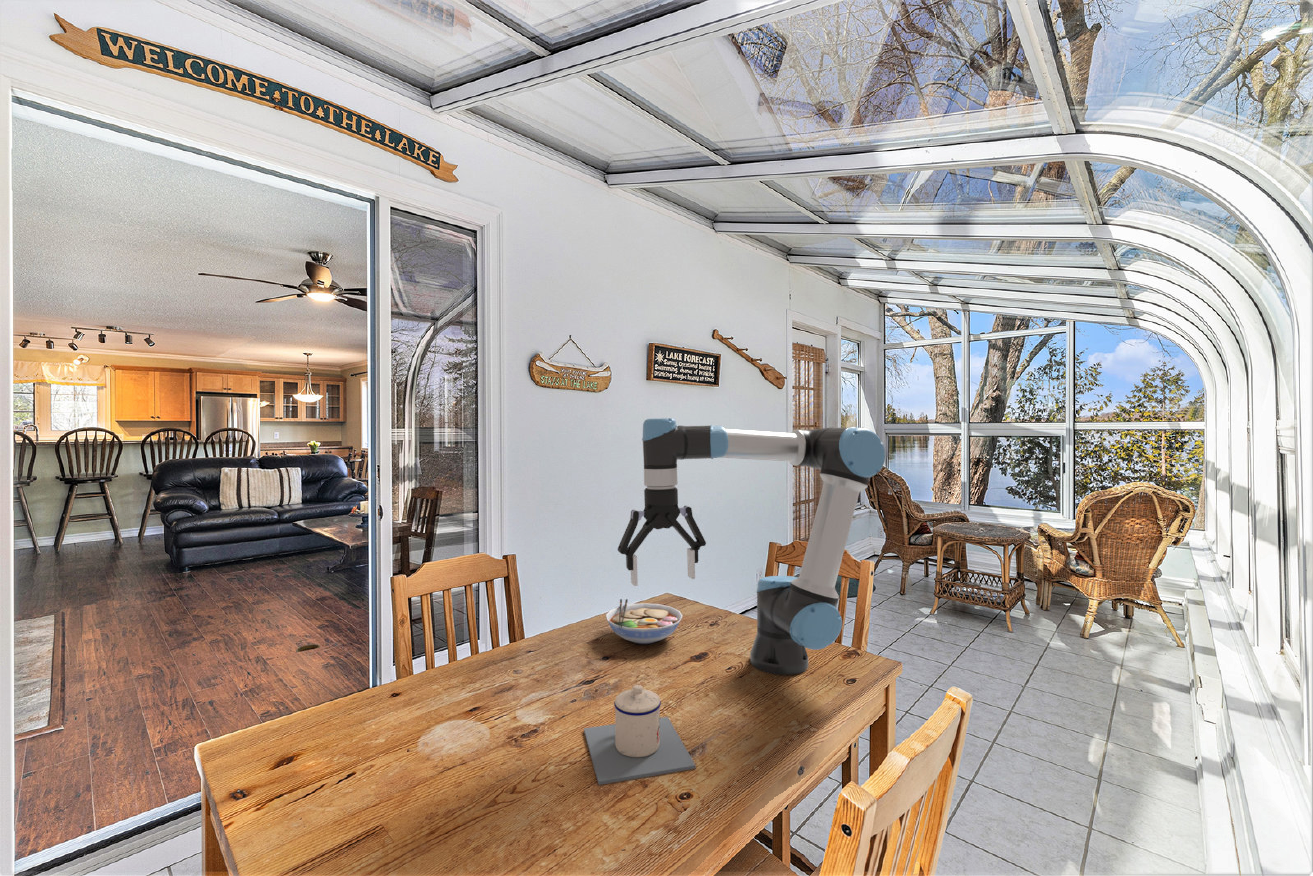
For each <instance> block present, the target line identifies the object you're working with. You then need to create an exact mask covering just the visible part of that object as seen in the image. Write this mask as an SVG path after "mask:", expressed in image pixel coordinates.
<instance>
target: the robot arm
mask: <svg viewBox="0 0 1313 876" xmlns="http://www.w3.org/2000/svg"><path fill="white" fill-rule="evenodd" d="M641 440H642V454H643V485H644V486H645V487H646V488H645V489H644V490H643V491H644V492H643V493H644V509H643V510H636V509H632V510H631V511H630V519H629V522H628V524H627V526H626V528H625V531H624V532H623V535H622V538H621V540H620V541H619V545H618V547H617V551H618V552H619V553H620V554H621V555H625V565H626V566H625V567H626V569H627V570H628V571H630V583H631V584H632V585H633V586H634V587H638V557H637V555H636V554H635V553H636V552H637V550H638V549H639V548H640V547H641V545H642V544H643V542H644V541H645V540H646V538H647V537H648V536H649V534H650V533H651V532H653V530H654V529H655V530H661V529H670V528H671V527H672V528H674V530H675V531H676V532H677V534H679V535H680V536H681V537H682V539H683V540H684V541H685V543H687V544H688V546H690V547H687V548H686V555H687V557H686V559H687V577H688V578H690V579H691V580H695V579H696V564H698V562H699V550H700V549H701V547H704V546H706V544H707V541H706V539H705V537H704V536H703V534H702V532H701V530H700V528H699V526H698V523H696V520H695V518H694V516H693V508H692V507H691V506H688V505H684V506H683V507H679V496H678V494H679V492H678V491H679V490H678V488H677V487H676V486H677V485H678V464H677V463H678V461H679V460H681V461H682V460H699V459H700V460H701V459H704V460H705V459H711V460H713V459H718V458H721V459H737V460H738V459H740V460H757V461H759V460H760V461H776V462H777V461H778V462H789V463H790V465H793V466H799V467H805V468H806V467H807V468H812V469H817V470H820V472H819V476H820V479H821V480H822V482H823V485H822V489H821V493H820V495H819V500H818V504H817V507H816V512H815V515H814V520H813V522H812V527H811V529H810V534H809V539H808V540H807V541H808V543H807V545H806V549H805V553H804V557H803V560H802V564H801V568H800V571H799V575H798V576H797V577H796V576H793V575H792V576H791V575H769V576H764V577H761V578H759V580H758V581H757V587H756V596H757V597H756V599H757V600H756V608H757V609H756V619H757V620H756V625H757V626H756V629H757V630H756V636H755V639H754V641H753V645H752V647H751V650H750V654H749V655H750V658H749V659H750V664H751V666H753V667H754V668H755V669H757V670H759V671H760V672H763V673H766V674H771V675H776V676H777V675H778V676H795V675H799V673H800V674H803V673H804V672H806V671H807V670H808V669H807V668H809V656H808V652H807V649H808V650H813V651H815V650H816V651H817V650H818V651H819V650H823V649H826V648H827V647H828V646H831V645H832V644H833V643H834V642H835V641H836V640H837V639H838V637H839V635H840V634H841V630H842V628H843V620H842V616H841V614H840V611H839V609H838V608H837V606H838V602H839V599H840V596H839V594H838V592H837V590H836V588H835V587H836V584H837V580H838V576H839V572H840V568H841V564H842V561H843V557H844V553H845V550H846V546H847V541H848V536H849V533H850V530H851V526H852V521H853V518H854V514H855V509H856V508H857V507H856V506H857V502H858V499H859V495H860V493H861V492H862V491H863V490H865V489H867V488H869V487H868V486H869V483H870V479H871V478H872V477H873V476H875V475H877V473H879V472H881V470H882V469H883V467H884V465H885V462H886V448H885V445H884V444H883V442H882V440H881V438H880V437H879V435H878V434H877V433H875V432H874V431H872V430H870V429H868V428H863V427H857V426H852V427H824V428H823V427H822V428H814V429H794V430H792V431H791V432H784V431H783V432H781V431H764V430H753V429H752V430H750V429H738V428H737V429H734V428H725V427H724V426H722V425H712V424H711V425H688V426H687V425H678V424H677V421H676V419H675V418H672V417H670V418H667V417H665V418H664V417H663V418H647V419H645V420H644V421H643V423H642V438H641ZM680 515H681V516H683V517H684V520H685V521H686V523H687V525H688V527H689V529H690V530H691V532H692V534H693V537H694V538H695V540H694V539H693V537H692V536H691V535H690V534H689V533H688V532H687V531H686V530H685V528H684V527H683V526H682V524H681V523H680V522H679V521H678V520H677V519H678V517H679V516H680ZM643 517H644V519H645V520H646V521H645V522H644V524H643V525H642V527H641V529H640V530H639V532H638V533H637V534H636V536H635V537H634V538H633V536H634V534H635V531H636V529H637V526H638V524H639V522H640V521H641V520H642V518H643ZM632 538H633V540H632ZM631 540H632V541H631Z"/></svg>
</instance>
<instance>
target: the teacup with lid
mask: <svg viewBox="0 0 1313 876" xmlns="http://www.w3.org/2000/svg"><path fill="white" fill-rule="evenodd" d="M661 701H662V700H661V698H660V696H659V695H658V694H657V693H656V692H654V691H652V690H649V689H644V688H643V686H642V685H641V684H634V685H633V686H632V688H631V689H627V690H624V691H622V692H620V693H618V695H617V696H616V697H615V699H614V702H613V705H614V709H615V713H614V715H615V719H614V720H615V721H614V724H615V745H616V748H617V750H618V751H619V752H620V753H621V754H623V755H626V756H629V757H645V756H648V755H651V754H653V753H654V752H655V751H656V750H657V749H658V748H659V744H660V718H661V717H660V714H661V710H660V707H661V705H662V702H661Z"/></svg>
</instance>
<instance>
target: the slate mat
mask: <svg viewBox="0 0 1313 876" xmlns="http://www.w3.org/2000/svg"><path fill="white" fill-rule="evenodd" d="M583 732H584V738H585V740H586V743H587V744H586V745H587V747H588V751H589V755H590V758H591V763H592V766H593V770H594V773H595V777H596V781H597V784H598V786H601V785H607V784H612V783H619V782H625V781H630V780H637V779H643V778H648V777H654V776H659V775H661V776H662V775H666V774H673V773H677V772H678V773H679V772H683V771H690V770H696V763H695V761H694V760H693V758H692V756H691V755H690V753H689V751H688V750H687V748H686V746H685V744H684V743H683V741H682V739H681V737H680V735H679V734H678V733H677V730H676V729H675V727H674V725H673V723H672V722H671V720H670V717H669V716H662V717H660V744H659V748H658V749H657V750H656V751H655V752H654V753H653V754H651V755H648V756H645V757H629V756H626V755H623V754H621V753H620V752H619V751H618V750H617V748H616V745H615V723H612V724H605V725H599V726H591V727H585V728H583Z"/></svg>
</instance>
